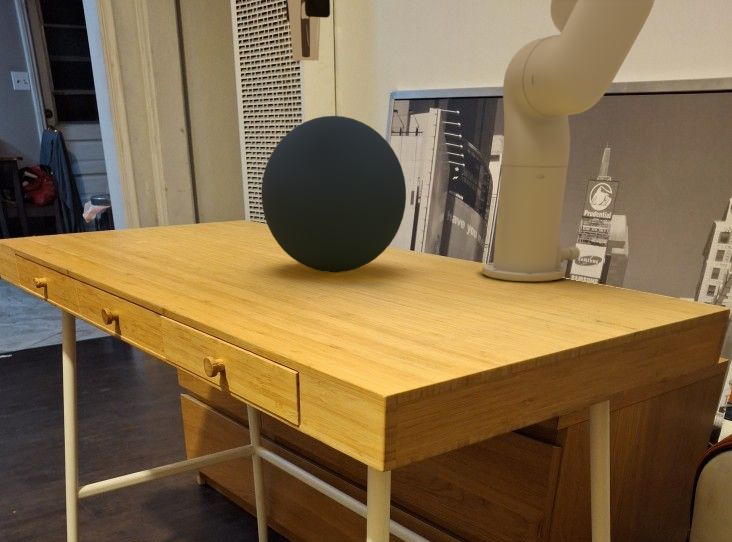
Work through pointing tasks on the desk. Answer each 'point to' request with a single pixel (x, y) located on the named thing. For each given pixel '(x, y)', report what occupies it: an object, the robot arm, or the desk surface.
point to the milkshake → (303, 32)
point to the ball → (333, 194)
